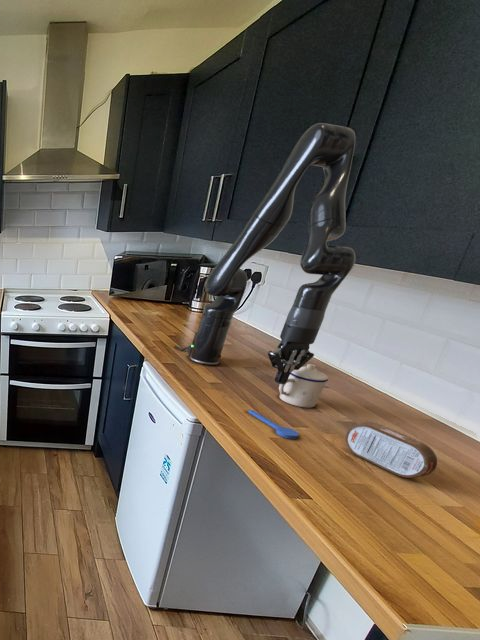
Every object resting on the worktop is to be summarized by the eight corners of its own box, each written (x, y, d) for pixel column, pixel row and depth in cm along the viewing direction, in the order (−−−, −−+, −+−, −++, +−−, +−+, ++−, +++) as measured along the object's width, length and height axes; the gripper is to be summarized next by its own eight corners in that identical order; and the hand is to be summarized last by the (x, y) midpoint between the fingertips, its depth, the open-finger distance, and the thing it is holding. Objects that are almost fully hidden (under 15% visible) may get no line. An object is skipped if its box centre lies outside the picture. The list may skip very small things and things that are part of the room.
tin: (426, 484, 83) (447, 450, 79) (416, 487, 82) (437, 452, 79) (345, 445, 96) (361, 414, 92) (336, 447, 95) (351, 416, 92)
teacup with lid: (297, 394, 123) (311, 359, 118) (324, 408, 114) (341, 370, 110) (261, 395, 121) (275, 359, 116) (287, 409, 113) (302, 371, 108)
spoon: (242, 412, 110) (243, 409, 110) (256, 412, 111) (257, 408, 110) (286, 439, 97) (287, 436, 97) (301, 438, 98) (303, 435, 98)
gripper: (310, 320, 112) (288, 377, 119) (269, 320, 110) (248, 378, 117) (337, 328, 105) (311, 388, 112) (293, 327, 103) (270, 388, 110)
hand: (279, 383), depth 114 cm, fingers closed
